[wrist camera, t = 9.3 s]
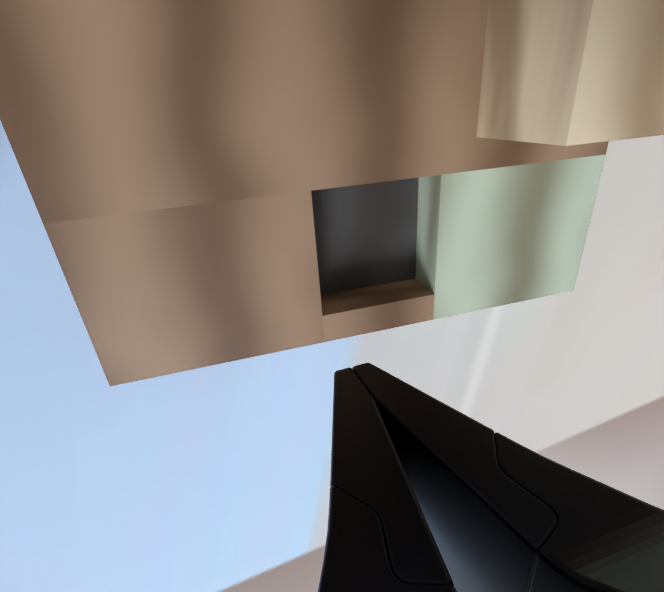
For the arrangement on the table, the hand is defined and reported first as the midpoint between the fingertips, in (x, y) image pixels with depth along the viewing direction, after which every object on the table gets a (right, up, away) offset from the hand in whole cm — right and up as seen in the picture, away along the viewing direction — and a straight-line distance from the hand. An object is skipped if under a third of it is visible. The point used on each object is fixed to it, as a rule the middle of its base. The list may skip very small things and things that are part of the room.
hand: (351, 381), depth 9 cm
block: (+8, +12, +7) cm, 16 cm away
